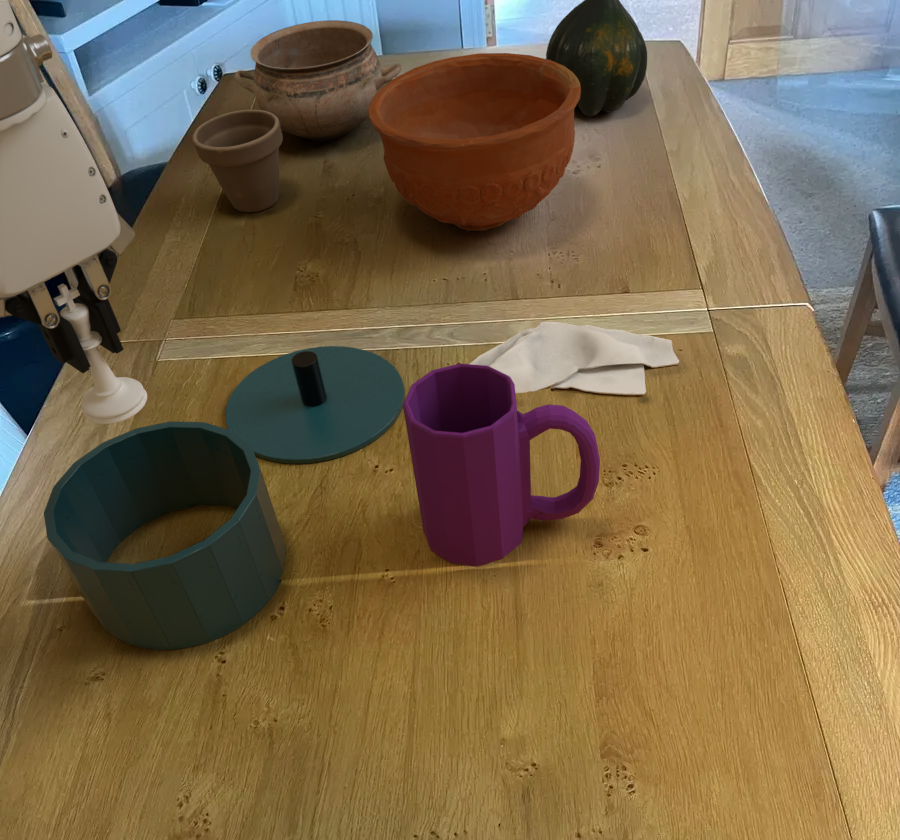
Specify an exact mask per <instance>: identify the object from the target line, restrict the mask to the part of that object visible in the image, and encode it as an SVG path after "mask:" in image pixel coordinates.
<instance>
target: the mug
mask: <svg viewBox="0 0 900 840" xmlns="http://www.w3.org/2000/svg"><path fill="white" fill-rule="evenodd" d="M402 410H403V414H404V422H405V427H406V433H407V440H408V445H409V451H410V452H409V453H410V457H411V463H412V469H413V476H414V482H415V487H416V492H417V493H416V494H417V499H418V501H417V502H418V506H419V507H418V508H419V512H420V519H421V524H422V529H423V530H422V531H423V534H424V537H425V539H426V542H427V545H428V547H429V550H430V551H431V552H433V553H434V554H435V555H437V556H439V557H441V558H442V559H444V560H445V561H447V562H448V563H450V564H456V565H463V566H467V567H476V568H477V567H480V566H484V565H488V564H490V563H492V562H496V561H499V560H503V559H504V558H505V557H507V556H508V555H509V554H510V553H511V552H513V551H514V550H515V549H516V548H517V547H519V546H520V545H521V544H522V540H523V536H524V527H525V526H526V525H527V524H528V523H529V522H530V521H531V520H537V521H541V522H547V521H557V520H562V519H563V520H564V519H566V518H569V517H572V516H574V515H578V514H579V513H580V512H581V511H582V510H584V508H585V507H587V506H588V505H589V504H590V503H591V502H592V501H593V500H594V497H595V494H596V491H597V488H598V485H599V482H600V466H601V457H600V451H599V447H598V442H597V437H596V434H595V432H594V430H593V429H592V427H591V425H590V424H589V422H588V420H587V419H586V418H584V417H582V416H581V415H580V414H578V412H577V411H575V410H573V409H571V408H569V407H567V406H565V405H561V404H550V403H549V404H545V405H541V406H537V407H534V408H533V409H531V410H529V411H527V412H525V413H523V412H520V411H519V410H518V404H517V393H515V384H514V382H513V381H512V379H511V377H510V376H508V375H506V374H504V373H502V372H500V371H498V370H496V369H494V368H492V367H490V366H486V365H473V364H470V363H456V364H452V365H448V366H444V367H440V368H436V369H432V370H430V371H429V372H428V373H426V374H425V375H423V376H422V377H420V378H419V379H418V380H416V381H415V382H413V383H412V384H411V386H410V387H409V389H408V392H407V394H406V397H405V398H404V403H403V406H402ZM550 429H551V430H561V431H564V432H566V433H569V434H570V435H571V436H572V437H573V438H574V440H575V442H576V444H577V447H578V453H579V458H580V465H579V478H578V480H577V484H576V486H574V487H573V488H572V489H570V490H569V491H567V492H565V493H562V494H560V495H556V496H543V495H532V484H531V483H532V482H531V481H532V477H531V476H532V475H531V440H533V439H534V438H536V437H538V436H539V435H541V434H543V433H545V432H547V431H548V430H550Z"/></svg>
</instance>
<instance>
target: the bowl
mask: <svg viewBox="0 0 900 840" xmlns="http://www.w3.org/2000/svg"><path fill="white" fill-rule="evenodd" d="M580 93H581V88H580V82H579V80H578V78H577V77H576V76H575V75H574V73H573V72H572V71H570V70H569V69H568V68H566V67H565V66H563V65H561V64H558V63H556V62H554V61H551V60H548V59H546V58H544V57H539V56H535V55H531V54H520V53H510V52H509V53H508V52H498V53H497V52H488V53H486V52H484V53H482V52H481V53H472V54H467V55H459V56H452V57H447V58H444V59H438V60H434V61H430V62H428V63H424V64H422V65H419V66H416V67H414V68H412V69H410V70H408V71H406V72H404V73H402V74H400V75H397V76H396V77H394V78H393V79H392V80H391V81H389V82H387V83H385V84H384V86H383V88H381V89H380V90H379V91H378V92H377V93H376V94H375V95H374V97H373V99H372V101H371V103H370V104H369V109H368V115H369V117H368V119H369V121H370V123H371V125H372V127H373V128H374V129H375V131H376V132H378V134H380V140H381V143H382V146H383V161H384V165H385V168H386V171H387V174H388V176H389V178H390V180H391V182H392V183H393V185H394V187H395V188H396V190H397V192H398V193H399V195H400V196H401V197H402V198H403V200H404V201H406V202H407V203H408V204H409V205H410V206H415V207H416V208H418V209H419V210H420V212H422V213H424V214H425V215H427V216H428V217H431V218H433V219H435V220H437V221H438V222H439V223H444V224H445V223H446V224H451V225H455V226H456V227H457V228H459V229H462V230H464V231H469V232H470V231H473V232H474V231H475V232H484V231H488V230H491V229H495V228H498V227H500V226H503V225H504V224H505V223H507V222H508V221H511V220H514V219H518V218H521V216H522V215H524V214H525V213H527V212H529V211H532V210H534V209H536V208H537V206H538V205H539V203H541V202H542V201H543V200H544V199H546V197H547V196H549V195H550V194H551V192H552V191H553V189H554V188H555V187H557V186H558V184H559V182H560V179H562V178H563V177H564V175H565V173H566V169H567V167H568V165H569V163H570V161H571V158H572V155H573V151H574V147H575V141H576V140H575V139H576V138H575V137H576V131H575V108H576V107H577V106H576V105H577V103H578V101H579V99H580Z"/></svg>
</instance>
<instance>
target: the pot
mask: <svg viewBox="0 0 900 840" xmlns="http://www.w3.org/2000/svg"><path fill="white" fill-rule="evenodd" d="M198 506H221V507H231V508H234V509H236V510H235V512H233V515H232V516H231V518H230V519H228V520H227V521H226V522H225V523H223V524H222V525H221V526H220V527H218V528H217V529H216V530H214V532H212V533H211V534H210V535H209V536H208V537H206V538H204V540H201V541H199V542H197V543H195V544H193V545H191V546H189V547H187V548H184V549H183V550H180V551H178V552H175V553H174V554H171V555H169V556H164V557H160V558H156V559H150V560H146V561H140V562H136V563H124V562H107V561H108V559H109V558H110V556H111V555H112V554H113V553H114V551H115V550H116V548H117V547H118V546H119V544H121V542H122V541H123V540H125V539H126V538H127V537H129V536H130V535H131V534H133V533H134V532H135V531H136V530H137V529H139V528H140V527H142V526H143V525H144V524H146V523H148V522H150V521H154V520H155V519H157V518H159V517H162V516H164V515H166V514H168V513H171V512H173V511H178V510H183V509H188V508H193V507H198ZM43 518H44V525H45V532H46V538H47V540H48V542H49V543H50V545H51V546H52V548H53V550H54V551H55V553H56V555H57V556H58V559H59V560H60V562H61V563H62V565H63V566H64V568H65V570H66V572H67V573H68V575H69V576H70V578H71V580H72V582H73V584H74V585H75V586H76V588H77V589H78V591H79V593H80V594H81V597H82V598H83V599H84V601H85V603H86V604H87V606H88V608H89V610H90V612H91V614H93V615H94V617H95V618H96V619H97V620H98V621H99V623H100V625H101V626H102V627H103V629H105V631H107V632H108V633H109V634H110V635H112V636H113V637H114V638H116V639H118V640H119V641H121V642H123V643H125V644H128V645H130V646H134V647H138V648H142V649H148V650H157V651H158V650H159V651H165V650H168V651H169V650H171V651H173V650H181V649H187V648H192V647H197V646H200V645H204V644H207V643H209V642H214V641H215V640H218V639H220V638H222V637H225V636H227V635H228V634H230V633H232V632H233V631H235V630H237V629H239V628H240V627H242V626H243V625H244V624H247V623H248V622H249V621H250V620H251V619H253V618H254V617H255V616H256V615H257V614H259V613H260V612H261V610H263V609H264V607H266V605H267V604H268V603H269V602H270V600H271V599H272V598H273V596H275V594H276V592H277V590H278V588H279V587H280V584H281V582H282V579H281V577H282V575H284V574H283V573H284V569H285V563H286V561H285V560H286V555H287V554H286V553H287V545H286V542H285V539H284V536H283V532H282V530H281V527H280V523H279V521H278V518H277V515H276V512H275V508H274V505H273V503H272V499H271V496H270V493H269V491H268V488H267V484H266V482H265V479H264V475H263V472H262V469H261V467H260V464H259V461H258V459H257V456H255V454H254V451H253V448H252V447H251V446H250V445H249V444H247V443H246V442H245V441H244V440H243V439H241V438H240V437H239V436H238V435H236V434H235V433H234V432H233V431H231V430H228V428H225V427H221V426H218V425H215V424H211V423H208V422H205V421H172V420H171V421H165V422H159V423H156V424H150V425H145V426H141V427H137V428H134V429H131V430H129V431H126V432H124V433H121V434H120V435H117V436H115V437H112V438H109V439H107V440H106V441H103V442H101V443H100V444H98V445H97V446H96V447H94V448H92V449H91V450H89V451H88V452H87V453H86V454H84V455H83V456H81V457H80V458H79V459H77V460H75V462H73V463H72V464H71V466H70V467H69V468H68V469H67V470H66V471H65V473H64V474H63V475H62V476H61V477H60V478H59V479H58V480H57V481H56V483H55V484H54V485H53V487H52V490H51V492H50V495H49V498H48V500H47V502H46V506H45V509H44V511H43Z"/></svg>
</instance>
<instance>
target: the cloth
mask: <svg viewBox="0 0 900 840" xmlns="http://www.w3.org/2000/svg"><path fill="white" fill-rule="evenodd" d="M469 364H473V365H486V366H490V367H492V368H494V369H496V370H498V371H500V372H502V373H504V374H506V375H508V376H510V377H511V379H512V381H513V382H514V384H515V394H523V393H528V392H538V391H542V390H544V389H547V388H549V387H550V389H565V390H566V389H570V388H572V389H575V390H578V391H581V392H586V393H593V394H594V393H595V394H602V395H603V394H604V395H619V396H644V395H645V394H646V393H647V388H646V374H645V366H647V367H648V368H649V367H650V368H652V369H657V368H663V367H670V366H677V365H679V364H680V360H679V358H678V356H677V355H676V353H675V351H674V347H673V341H672V340H671V339H667V338H663V337H659V336H653V335H648V334H639V333H633V332H630V331H627V330H624V329H613V328H603V327H599V326H595V325H592V324H585V325H576V324H571V323H568V322H567V323H566V322H559V321H541V322H540V323H539V324H538V325H537V326H535V327H529V328H524V329H522V330H521V331H519V332H518V333H516V334H514V335H512V336H511V337H510V338H508V339H506V340H505V341H504V342H502V343H500V344H498V345H496V346H494V347H493V348H491V349H488V350H487V351H485V352H483V353H482V354H480V355H478V356H477V357H475V358H474V359H473V360H472V361H470V362H469Z"/></svg>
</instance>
